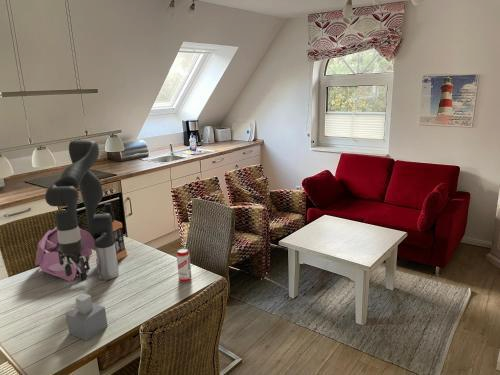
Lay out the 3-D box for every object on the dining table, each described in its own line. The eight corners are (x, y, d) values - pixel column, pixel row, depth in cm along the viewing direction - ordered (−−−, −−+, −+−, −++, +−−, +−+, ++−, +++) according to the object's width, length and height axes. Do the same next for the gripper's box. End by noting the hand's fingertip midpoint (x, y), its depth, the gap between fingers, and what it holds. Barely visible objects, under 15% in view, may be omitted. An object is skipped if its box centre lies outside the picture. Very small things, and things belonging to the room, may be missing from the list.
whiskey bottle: (128, 255, 217) (121, 201, 208) (115, 262, 209) (108, 207, 200) (114, 252, 221) (106, 199, 213) (101, 259, 213) (93, 205, 204)
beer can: (189, 283, 185) (186, 253, 180) (176, 282, 186) (174, 252, 182) (193, 277, 191) (191, 248, 186) (181, 276, 192) (179, 247, 188)
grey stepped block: (69, 333, 151) (63, 300, 147) (90, 319, 159) (85, 287, 155) (86, 341, 146) (80, 307, 142) (107, 326, 155) (102, 294, 150)
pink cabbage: (107, 272, 208) (110, 221, 206) (82, 287, 185) (86, 230, 182) (48, 263, 213) (51, 214, 210) (17, 276, 190) (20, 221, 187)
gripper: (48, 239, 141) (55, 278, 145) (73, 246, 134) (80, 287, 138) (66, 231, 147) (73, 269, 151) (91, 238, 140) (97, 277, 145)
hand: (76, 277), depth 145 cm, fingers open, 8 cm apart
